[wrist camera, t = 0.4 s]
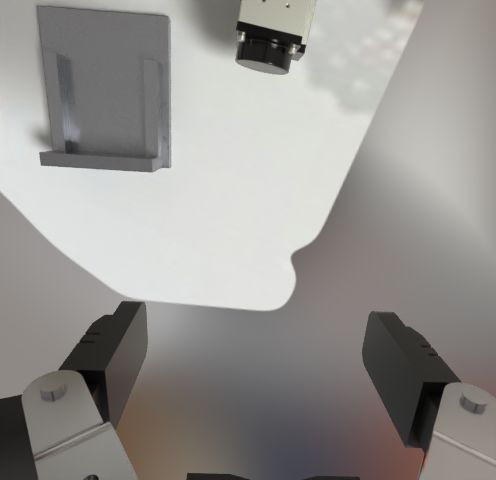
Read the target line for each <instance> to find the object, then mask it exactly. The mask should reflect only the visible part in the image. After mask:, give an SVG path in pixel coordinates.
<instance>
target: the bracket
mask: <svg viewBox="0 0 496 480" xmlns="http://www.w3.org/2000/svg"><path fill="white" fill-rule="evenodd" d="M37 8H38V17H39V26H40V35H41V44H42V53H43V63H44V72H45V81H46V90H47V99H48V108H49V117H50V126H51V135H52V144H53V151H46V152H39V154H40V162H41V165H42V166H58V167H74V168H90V169H106V170H122V171H138V172H154V171H156V170H158V169H160V168H170V167H171V45H170V18H169V17H168V16H155V15H143V14H130V13H118V12H105V11H93V10H80V9H68V8H55V7H43V6H37Z"/></svg>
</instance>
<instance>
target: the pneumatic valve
mask: <svg viewBox="0 0 496 480" xmlns="http://www.w3.org/2000/svg"><path fill="white" fill-rule="evenodd" d="M315 5H316V0H241V5H240V11H239V16H238V22H237V28H236V40H237V53H236V59H235V61H236V63H238V64H239V65H241V66H244V67H246V68H249V69H252V70H256V71H260V72H264V73H270V74H278V75H284V74H287V73H288V72H289V68H290V63H291V60H296V61H298V60H299V59H300V58H301V57H302V56H303V55H304V52H305V48H306V44H307V39H308V35H309V31H310V26H311V22H312V18H313V13H314V9H315Z"/></svg>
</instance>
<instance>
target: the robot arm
mask: <svg viewBox="0 0 496 480" xmlns="http://www.w3.org/2000/svg"><path fill="white" fill-rule="evenodd" d="M147 338H148V337H147V317H146V305H145V302H134V301H122V302H121V303H120V305H119V306H118V308H117V309H116V311H115V312H114V314H113V315H104V316H102V317H101V318H99V319H98V320H96V321H95V322H93V323H92V325H91V326H90V327H89V329H88V330H87V331H86V334H85V335H84V336H83V337H82V338H81V340H80V342H79V343H78V344H77V345H76V347H75V348H74V349H73V350H72V352H71V353H70V355H69V356H68V357H67V359H66V360H65V361H64V363H63V364H62V366H61V367H60V368H59V370H58V371H54V372H50V373H48V374H45V375H43V376H41V377H39V378H37V379H35V380H34V381H33V382H32V383H30V384H29V385H28V386H27V387H26V389H25V390H24V392H23V394H22V395H18V396H13V397H9V398H3V399H0V480H138V478H137V476H136V474H135V472H134V470H133V468H132V466H131V463H130V461H129V459H128V457H127V455H126V453H125V451H124V449H123V447H122V445H121V443H120V440H119V438H118V436H117V434H116V432H115V430H116V428H117V425H118V423H119V420H120V418H121V415H122V413H123V410H124V408H125V405H126V403H127V401H128V398H129V395H130V393H131V391H132V388H133V386H134V384H135V381H136V379H137V376H138V374H139V371H140V369H141V366H142V364H143V361H144V359H145V356H146V352H147V344H148V339H147ZM362 356H363V362H364V366H365V368H366V370H367V372H368V374H369V376H370V378H371V380H372V382H373V384H374V386H375V388H376V390H377V392H378V394H379V396H380V397H381V399H382V402H383V404H384V406H385V408H386V409H387V412H388V414H389V416H390V418H391V420H392V422H393V423H394V426H395V428H396V430H397V431H398V434H399V436H400V438H401V440H402V442H403V443H404V445H405V447H406V448H422V450H423V451H424V453H425V454H424V457H423V461H422V464H421V468H420V471H419V475H418V479H417V480H496V399H495V398H494V397H493V396H491V395H490V394H488V393H487V392H485V391H484V390H482V389H480V388H477V387H475V386H472V385H469V384H466V383H462V382H461V381H460V380H459V378H458V377H457V376H456V375H455V374H454V373H453V372H452V370H451V369H450V368H449V367H448V365H447V364H446V363H445V362H444V361H443V360H442V358H441V357H440V356H438V354H437V352H436V351H435V350H434V349H433V348H431V345H430V344H429V343H428V342H427V341H426V339H425V338H424V337H423V336H422V335H421V334H419V333H418V332H416V331H415V330H413V329H412V328H410V327H406V326H405V325H404V324H403V323H402V321H401V320H400V319H399V318H398V316H397V315H396V314H395V313H394V312H377V311H376V312H375V311H372V312H371V313H370V314H369V318H368V323H367V328H366V333H365V338H364V343H363V349H362ZM187 480H249V479H245V478H242V477H239V476H235V475H231V474H204V473H203V474H202V473H187ZM304 480H360V478H359V477H336V476H316V477H312V478H308V479H304Z"/></svg>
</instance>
